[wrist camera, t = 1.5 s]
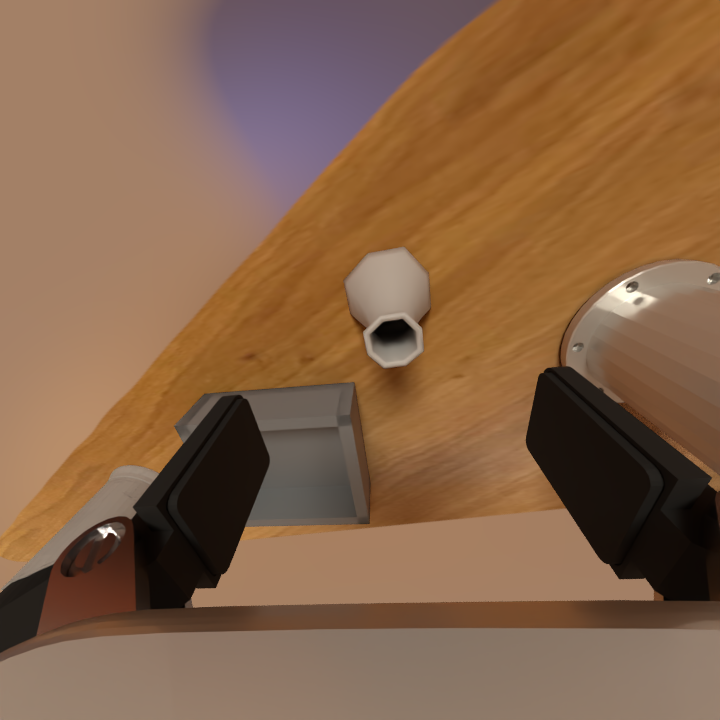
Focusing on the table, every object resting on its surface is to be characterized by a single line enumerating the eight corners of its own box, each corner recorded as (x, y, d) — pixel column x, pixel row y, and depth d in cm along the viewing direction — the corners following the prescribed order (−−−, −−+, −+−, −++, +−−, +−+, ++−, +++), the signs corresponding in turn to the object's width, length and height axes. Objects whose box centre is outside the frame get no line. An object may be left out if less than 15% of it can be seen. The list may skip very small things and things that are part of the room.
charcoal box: (354, 382, 28) (349, 414, 23) (370, 484, 35) (369, 523, 30) (204, 393, 30) (173, 426, 25) (248, 488, 36) (230, 527, 32)
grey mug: (132, 455, 35) (-19, 605, 22) (222, 515, 40) (144, 667, 26) (98, 482, 38) (-53, 630, 24) (186, 535, 42) (100, 682, 29)
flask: (369, 345, 26) (365, 415, 17) (328, 275, 23) (299, 314, 14) (444, 310, 24) (483, 368, 15) (409, 228, 21) (432, 242, 12)
